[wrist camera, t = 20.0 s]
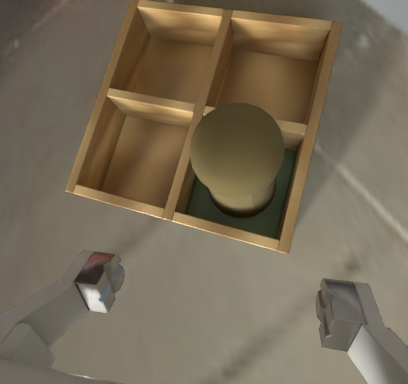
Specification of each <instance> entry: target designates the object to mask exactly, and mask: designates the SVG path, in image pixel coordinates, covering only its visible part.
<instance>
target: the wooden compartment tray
mask: <svg viewBox="0 0 408 384" xmlns="http://www.w3.org/2000/svg"><path fill="white" fill-rule="evenodd" d="M342 25H343V22H337V21H333V22H332V21H329V20H320V19H311V18H302V17H293V16H284V15H275V14H266V13H257V12H248V11H238V10H229V9H220V8H211V7H202V6H193V5H184V4H175V3H166V2H157V1H148V0H131V2H130V5H129V7H128V10H127V13H126V16H125V19H124V22H123V25H122V28H121V30H120V33H119V36H118V39H117V42H116V45H115V48H114V51H113V54H112V56H111V59H110V62H109V65H108V68H107V71H106V74H105V77H104V79H103V82H102V85H101V88H100V91H99V94H98V97H97V100H96V103H95V105H94V108H93V111H92V114H91V117H90V120H89V123H88V126H87V128H86V131H85V134H84V137H83V140H82V143H81V146H80V149H79V151H78V154H77V157H76V160H75V163H74V166H73V169H72V172H71V175H70V177H69V180H68V183H67V186H66V189H65V191H67V192H70V193H74V194H77V195H81V196H84V197H88V198H91V199H95V200H98V201H102V202H105V203H109V204H112V205H116V206H119V207H123V208H126V209H130V210H134V211H137V212H141V213H144V214H148V215H151V216H155V217H158V218H162V219H165V220H169V221H173V222H176V223H179V224H183V225H186V226H190V227H193V228H197V229H201V230H204V231H208V232H211V233H215V234H218V235H222V236H225V237H229V238H232V239H236V240H239V241H243V242H246V243H250V244H253V245H257V246H260V247H264V248H267V249H271V250H275V251H278V252H282V253H285V254H289V251H290V246H291V242H292V238H293V234H294V229H295V225H296V221H297V217H298V212H299V208H300V204H301V199H302V195H303V191H304V187H305V182H306V178H307V174H308V170H309V165H310V161H311V157H312V153H313V148H314V144H315V140H316V136H317V131H318V127H319V123H320V119H321V114H322V110H323V106H324V101H325V97H326V93H327V89H328V84H329V80H330V76H331V72H332V67H333V63H334V59H335V55H336V50H337V46H338V42H339V38H340V33H341V29H342ZM230 103H248V104H251V105H254V106H257V107H260V108H261V109H263V110H264V111H265V112H267V113H268V114H270V115H271V116H272V117H273V119H274V120H275V122H276V123H277V124H278V126H279V127H280V130H281V133H282V136H283V140H284V143H285V149H284V160H283V162H282V165H281V167H280V170H279V172H278V174H277V176H276V192H275V194H274V197H273V199H272V202H271V203H270V204H269V205H268V206H267V208H266V209H265V210H264V211H262V212H260V213H259V214H257V215H255V216H252V217H247V218H236V217H231V216H229V215H227V214H224V213H222V212H221V211H220V210H219V209H218V208H217V207H216V206H215V205H214V203H213V202H212V200H211V198H210V196H209V191H208V187H207V186H206V185H205V184H203V183H202V182H201V181H200V180H199V178H198V176H197V175H196V173H195V171H194V170H193V168H192V163H191V159H190V144H191V137H192V135H193V132H194V130H195V128H196V126H197V124H198V123H199V122H200V121H201V120H202V118H203V117H204V116H205V115H206V114H207V113H209V112H211V111H212V110H214V109H215V108H217V107H219V106H223V105H226V104H230Z"/></svg>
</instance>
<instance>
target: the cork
mask: <svg viewBox="0 0 408 384" xmlns="http://www.w3.org/2000/svg"><path fill="white" fill-rule="evenodd" d="M284 149H285V143H284V140H283V136H282V133H281V130H280V127H279V126H278V124H277V123H276V122H275V120H274V119H273V117H272V116H271V115H270V114H268V113H267V112H265V111H264V110H263V109H261V108H260V107H257V106H254V105H251V104H248V103H230V104H226V105H223V106H219V107H217V108H215V109H214V110H212V111H211V112H209V113H207V114H206V115H205V116H204V117H203V118H202V120H201V121H200V122H199V123H198V124H197V126H196V128H195V130H194V132H193V135H192V137H191V144H190V159H191V163H192V168H193V170H194V171H195V173H196V175H197V176H198V178H199V180H200V181H201V182H202V183H203V184H205V185H206V186H207V187H208V191H209V196H210V198H211V200H212V202H213V203H214V205H215V206H216V207H217V208H218V209H219V210H220V211H221V212H222V213H224V214H227V215H229V216H231V217H236V218H247V217H252V216H255V215H257V214H259V213H260V212H262V211H264V210H265V209H266V208H267V206H268V205H269V204H270V203H271V202H272V199H273V197H274V194H275V192H276V176H277V174H278V172H279V170H280V167H281V165H282V162H283V160H284Z"/></svg>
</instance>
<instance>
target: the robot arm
mask: <svg viewBox="0 0 408 384" xmlns="http://www.w3.org/2000/svg"><path fill="white" fill-rule="evenodd" d="M120 261H121V259H120V257H119V255H115V254H108V253H102V252H95V251H87V250H84V251H83V252H81V253H80V254H79V256H78V257H77V259H76V260H75V261H74V263H73V264H72V266H71V267H70V268H69V270H68V271H67V272H66V274H65V275H64V277H63V278H62V279H61V281H56V282H54V283H53V284H51V285H50V286H48V287H46V288H45V289H43V290H41V291H40V292H38V293H36V294H35V295H33V296H32V297H30V298H28V299H27V300H25V301H23V302H22V303H20V304H18V305H17V306H15V307H13V308H12V309H10V310H9V311H7V312H5V313H4V314H2V315H0V384H122V383H117V382H112V381H108V380H103V379H98V378H93V377H88V376H83V375H78V374H73V373H68V372H63V371H59V370H54V369H50V367H51V366H52V364H53V362H54V360H55V358H54V355H53V354H52V352H51V351H50V350H49V349H48V347H49V346H51V345H52V344H53V343H54V342H55V341H56V340H58V339H59V338H60V337H61V336H62V335H63V334H64V333H66V332H67V331H68V330H69V329H70V328H71V327H72V326H74V325H75V324H76V323H77V322H78V321H79V320H81V319H82V318H83V317H84V316H85V315H86V314H87V313H89V311H95V312H103V313H109V311H110V309H111V307H112V305H113V303H114V301H115V294H114V293H116V292H117V291H118V290H120V288H121V286H122V284H123V281H124V277H125V275H124V268H123V267H122V266H121V265H120V264H119V263H120ZM320 286H321V290H320V291H318V293H317V297H316V313H317V318H318V319H319V320H320V321H321V324H320V327H319V332H320V339H321V345H322V347H325V348H330V349H335V350H341V351H346V352H347V354H348V355H349V356H350V358H351V359H352V361H353V362H354V364H355V365H356V366H357V368H358V369H359V371H360V372H361V374H362V375H363V376H364V378H365V379H366V381H367V382H368V384H408V346H407V345H406V344H405V343H404V342H403V341H402V340H401V339H400V338H399V337H398V336H397V335H396V334H395V333H394V332H393V331H392V330H391V329H390V328H386V327H385V326H384V323H383V321H382V318H381V315H380V312H379V310H378V307H377V304H376V301H375V299H374V296H373V293H372V290H371V288H370V286H369V285H368V284H367V283H359V282H351V281H343V280H334V279H324V278H323V279H322V281H321V284H320Z"/></svg>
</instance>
